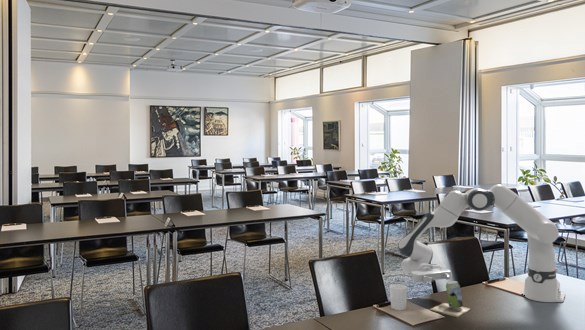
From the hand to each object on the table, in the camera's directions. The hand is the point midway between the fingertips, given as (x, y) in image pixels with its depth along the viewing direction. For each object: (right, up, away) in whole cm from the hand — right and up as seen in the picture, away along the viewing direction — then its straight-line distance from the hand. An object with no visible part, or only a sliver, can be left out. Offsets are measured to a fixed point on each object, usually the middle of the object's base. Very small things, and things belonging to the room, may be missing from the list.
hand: (440, 278), depth 225 cm
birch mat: (+2, -12, -9) cm, 15 cm away
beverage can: (+4, -12, -7) cm, 14 cm away
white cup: (-21, -12, -5) cm, 25 cm away
